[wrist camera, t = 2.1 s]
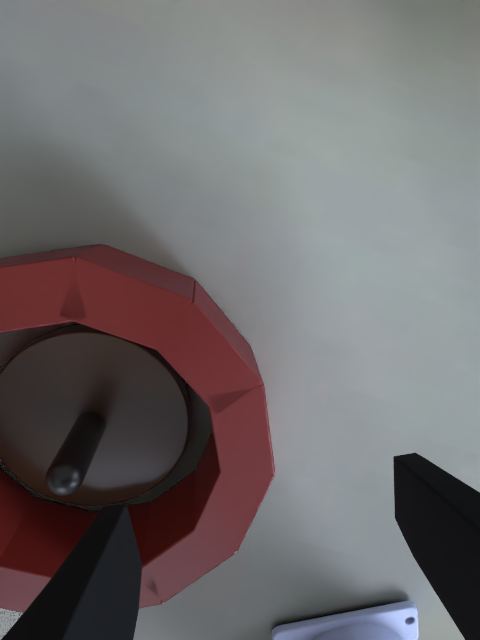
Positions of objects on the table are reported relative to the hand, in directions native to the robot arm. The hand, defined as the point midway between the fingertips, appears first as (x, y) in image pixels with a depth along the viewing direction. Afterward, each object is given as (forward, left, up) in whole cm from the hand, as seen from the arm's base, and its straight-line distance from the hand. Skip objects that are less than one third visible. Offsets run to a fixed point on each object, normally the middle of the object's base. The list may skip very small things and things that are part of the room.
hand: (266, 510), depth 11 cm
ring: (0, +6, -7) cm, 10 cm away
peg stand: (0, +6, -7) cm, 10 cm away
